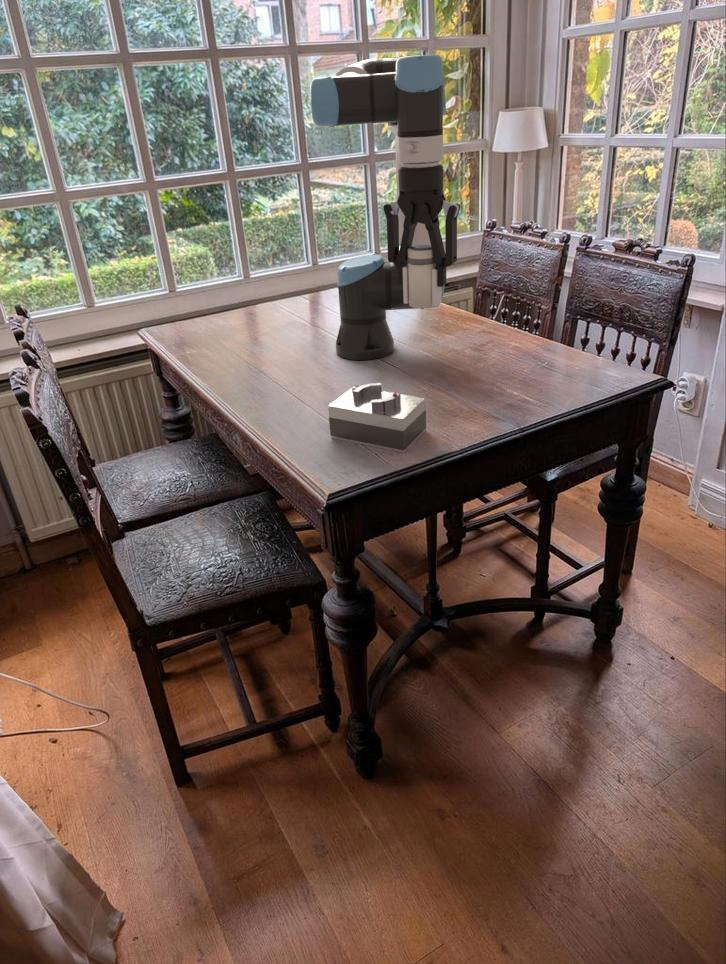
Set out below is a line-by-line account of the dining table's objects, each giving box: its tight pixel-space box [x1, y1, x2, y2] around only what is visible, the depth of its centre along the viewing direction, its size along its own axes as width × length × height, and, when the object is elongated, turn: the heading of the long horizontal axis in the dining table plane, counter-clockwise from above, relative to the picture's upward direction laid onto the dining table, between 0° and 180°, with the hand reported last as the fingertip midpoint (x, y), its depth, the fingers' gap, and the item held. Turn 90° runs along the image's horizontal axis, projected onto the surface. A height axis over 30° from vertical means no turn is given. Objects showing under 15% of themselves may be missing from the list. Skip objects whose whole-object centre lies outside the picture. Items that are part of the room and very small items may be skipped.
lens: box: [407, 245, 436, 309], centre depth 123 cm, size 5×5×10 cm
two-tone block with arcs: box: [327, 382, 427, 454], centre depth 133 cm, size 16×10×10 cm, turn 61°
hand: (422, 302), depth 125 cm, fingers closed on lens, 5 cm apart
